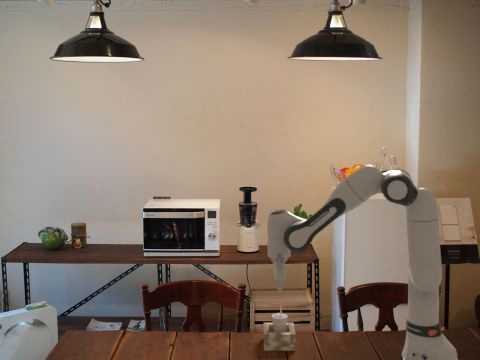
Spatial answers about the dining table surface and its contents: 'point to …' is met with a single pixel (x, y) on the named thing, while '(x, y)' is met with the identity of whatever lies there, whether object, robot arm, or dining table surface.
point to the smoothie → (279, 321)
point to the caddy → (279, 338)
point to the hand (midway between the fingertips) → (279, 286)
